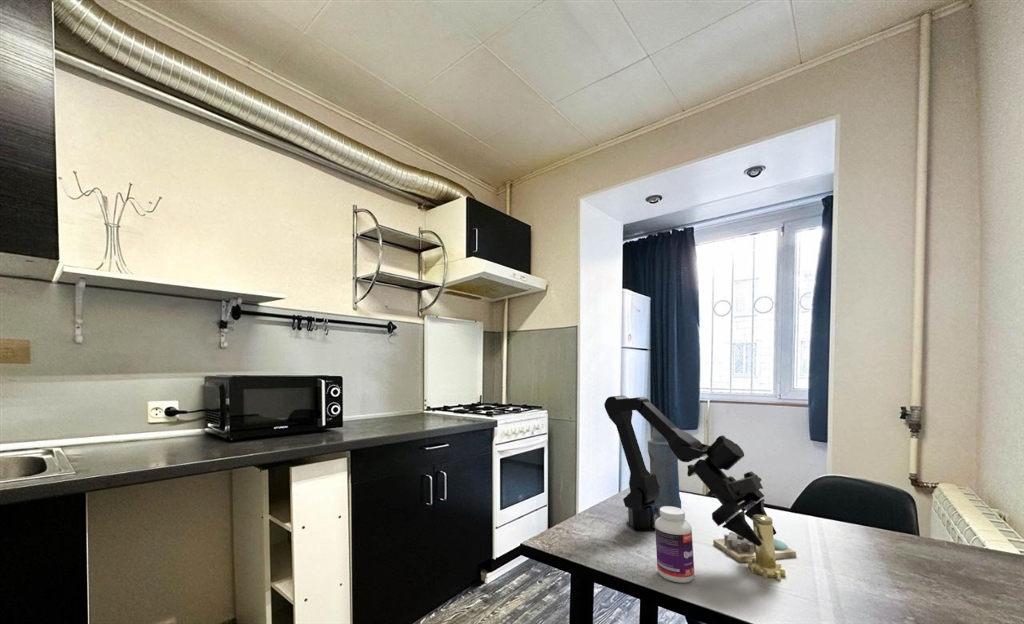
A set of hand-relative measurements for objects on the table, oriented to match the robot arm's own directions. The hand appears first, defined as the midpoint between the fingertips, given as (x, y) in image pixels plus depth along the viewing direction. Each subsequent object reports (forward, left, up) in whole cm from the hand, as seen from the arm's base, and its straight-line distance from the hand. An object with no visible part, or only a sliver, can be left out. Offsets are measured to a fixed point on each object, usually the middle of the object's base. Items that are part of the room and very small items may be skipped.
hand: (768, 539), depth 94 cm
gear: (0, +1, -7) cm, 7 cm away
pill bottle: (-22, +3, -8) cm, 24 cm away
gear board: (+5, +11, -7) cm, 14 cm away
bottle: (-3, +40, -7) cm, 41 cm away
